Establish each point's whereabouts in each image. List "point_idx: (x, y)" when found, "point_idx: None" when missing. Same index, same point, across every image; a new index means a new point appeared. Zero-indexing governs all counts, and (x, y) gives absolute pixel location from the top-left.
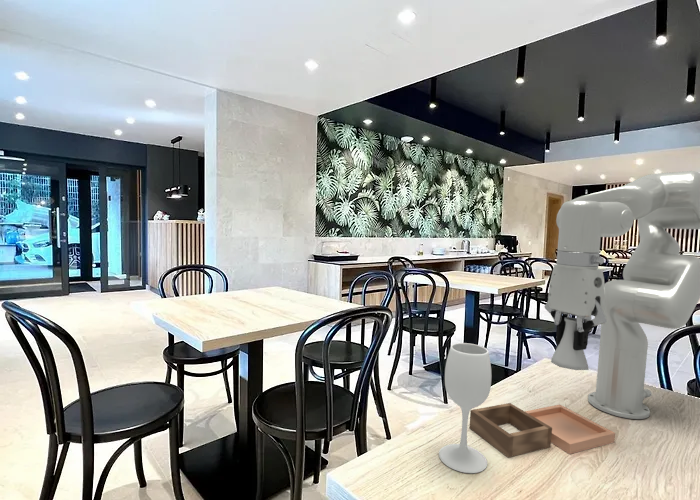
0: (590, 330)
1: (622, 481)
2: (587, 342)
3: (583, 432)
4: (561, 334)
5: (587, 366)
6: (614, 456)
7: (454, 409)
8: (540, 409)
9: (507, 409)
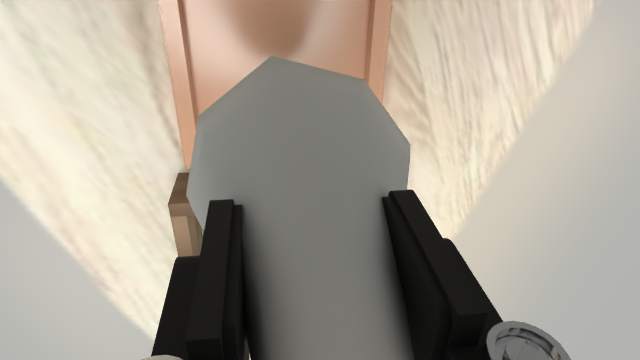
0: (539, 339)
1: (485, 121)
2: (459, 254)
3: (323, 23)
4: (246, 343)
5: (408, 155)
6: (428, 35)
7: (91, 272)
8: (178, 74)
9: (190, 217)
